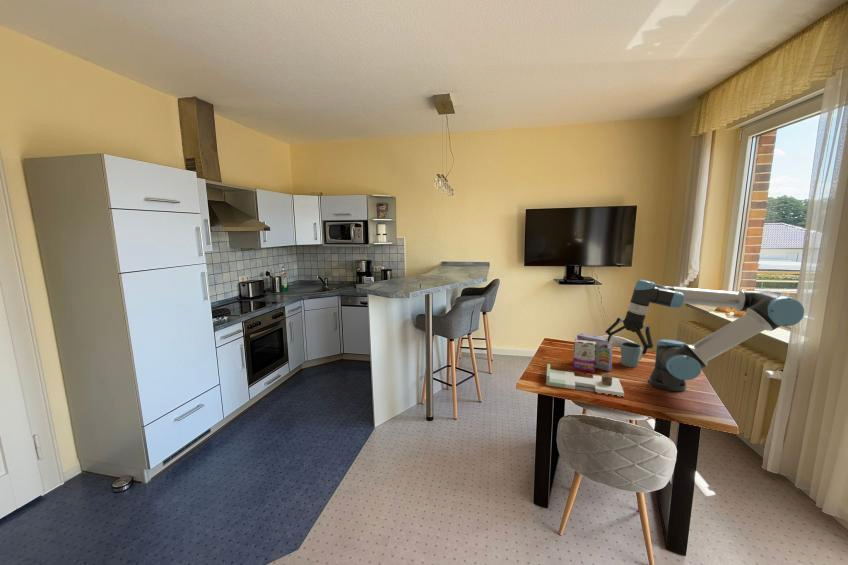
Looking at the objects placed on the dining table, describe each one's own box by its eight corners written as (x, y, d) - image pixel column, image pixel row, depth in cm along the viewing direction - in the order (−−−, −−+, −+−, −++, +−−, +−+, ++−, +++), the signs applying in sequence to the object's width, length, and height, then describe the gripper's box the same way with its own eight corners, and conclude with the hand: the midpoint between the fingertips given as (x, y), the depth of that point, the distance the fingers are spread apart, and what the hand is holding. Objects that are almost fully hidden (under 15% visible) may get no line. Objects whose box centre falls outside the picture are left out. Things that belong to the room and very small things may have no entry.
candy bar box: (594, 369, 191) (596, 341, 188) (594, 372, 186) (596, 344, 184) (573, 365, 196) (575, 338, 193) (572, 369, 192) (574, 341, 189)
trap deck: (618, 382, 175) (619, 373, 174) (623, 396, 160) (624, 386, 159) (547, 372, 187) (547, 363, 186) (546, 385, 172) (546, 375, 171)
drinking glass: (643, 367, 193) (645, 347, 191) (624, 367, 193) (626, 347, 191) (632, 361, 203) (634, 341, 201) (615, 360, 203) (617, 341, 201)
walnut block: (610, 382, 170) (611, 374, 170) (611, 385, 167) (612, 378, 166) (601, 381, 172) (602, 373, 171) (602, 384, 168) (602, 376, 168)
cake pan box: (573, 362, 201) (575, 333, 198) (577, 360, 205) (579, 331, 202) (608, 372, 187) (610, 341, 184) (611, 369, 190) (614, 339, 188)
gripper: (606, 304, 166) (594, 345, 170) (665, 322, 149) (651, 366, 153) (611, 303, 171) (599, 342, 176) (669, 320, 154) (654, 363, 159)
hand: (623, 353), depth 165 cm, fingers open, 13 cm apart
